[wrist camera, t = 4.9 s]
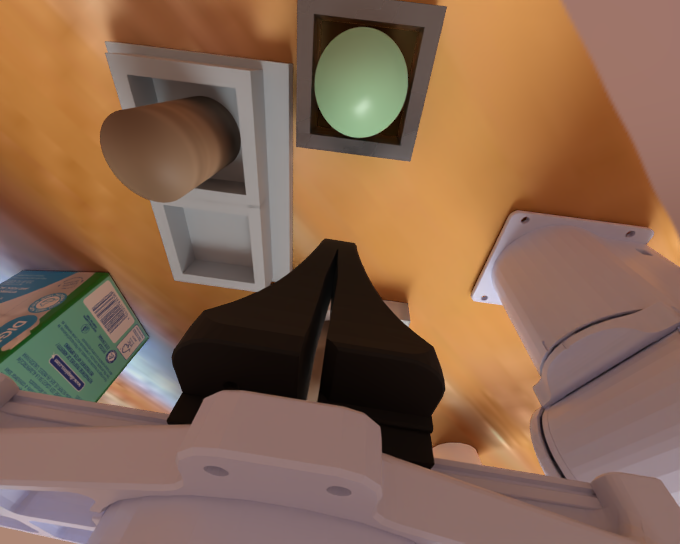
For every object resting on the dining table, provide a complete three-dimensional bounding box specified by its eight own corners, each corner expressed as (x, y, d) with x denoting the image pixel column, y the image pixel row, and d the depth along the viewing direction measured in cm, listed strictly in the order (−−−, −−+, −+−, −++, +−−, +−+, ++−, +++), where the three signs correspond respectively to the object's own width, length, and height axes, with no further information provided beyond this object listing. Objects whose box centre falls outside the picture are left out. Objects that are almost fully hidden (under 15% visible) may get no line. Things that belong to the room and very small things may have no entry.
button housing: (437, 13, 14) (446, 6, 12) (406, 151, 18) (410, 161, 16) (307, -2, 15) (297, -12, 13) (304, 137, 18) (296, 146, 16)
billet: (355, 323, 27) (350, 381, 22) (349, 351, 29) (345, 408, 24) (312, 317, 27) (298, 373, 22) (310, 345, 29) (297, 401, 24)
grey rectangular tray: (292, 63, 16) (278, 64, 14) (292, 276, 25) (283, 299, 23) (117, 42, 16) (73, 38, 14) (178, 260, 25) (158, 282, 23)
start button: (411, 38, 15) (418, 33, 12) (393, 131, 17) (396, 142, 15) (326, 27, 15) (316, 21, 12) (321, 122, 18) (312, 132, 15)
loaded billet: (237, 100, 17) (180, 115, 12) (243, 170, 19) (198, 207, 14) (168, 91, 17) (84, 103, 12) (184, 162, 19) (118, 196, 14)
